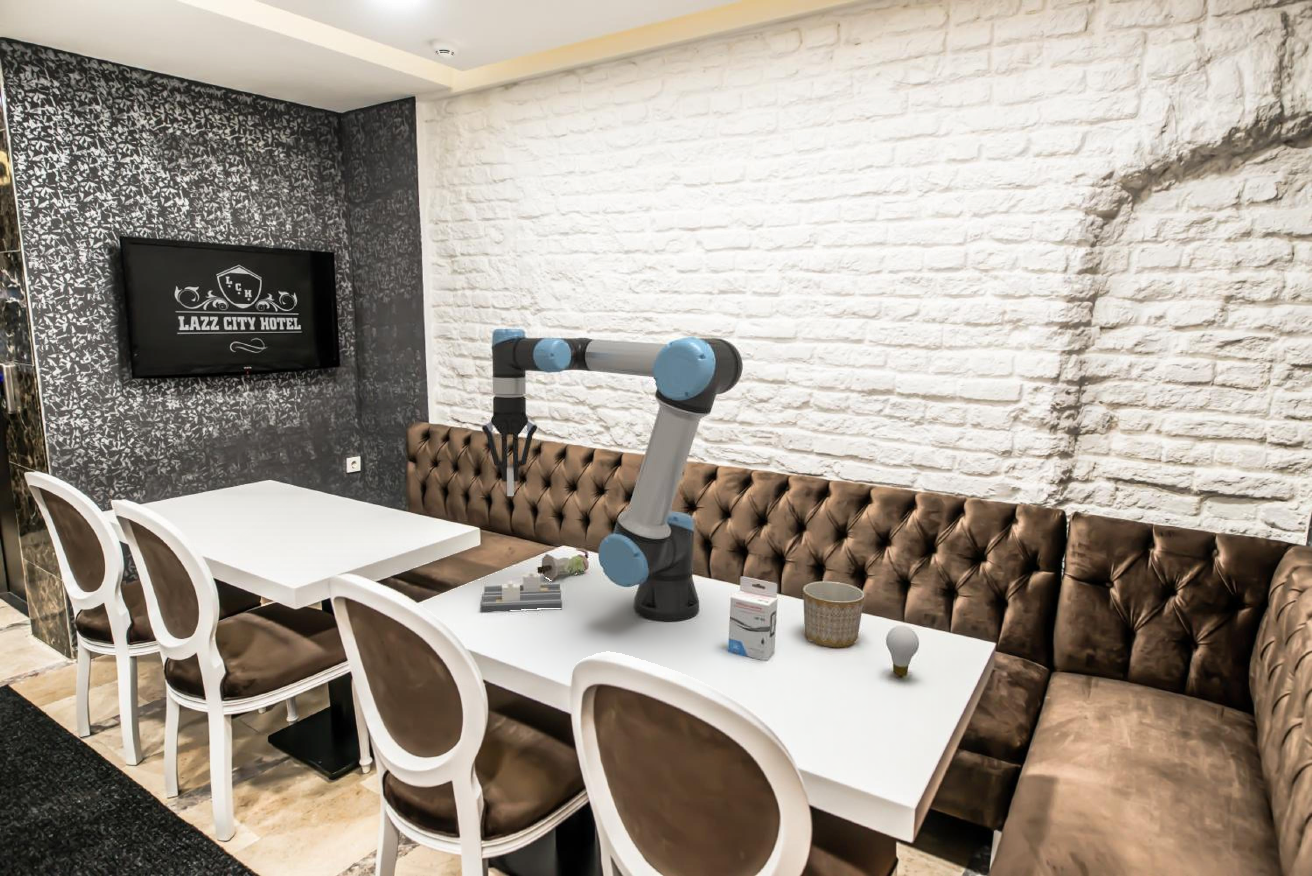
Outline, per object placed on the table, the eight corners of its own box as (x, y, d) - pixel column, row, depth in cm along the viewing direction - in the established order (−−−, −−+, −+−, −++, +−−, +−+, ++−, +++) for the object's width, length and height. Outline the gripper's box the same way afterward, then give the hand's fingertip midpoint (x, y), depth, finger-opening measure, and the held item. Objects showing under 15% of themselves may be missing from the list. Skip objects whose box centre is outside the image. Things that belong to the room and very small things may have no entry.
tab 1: (520, 598, 175) (519, 580, 174) (519, 601, 172) (519, 583, 172) (502, 598, 174) (502, 580, 173) (502, 602, 172) (501, 584, 171)
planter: (812, 622, 169) (814, 577, 167) (868, 635, 162) (871, 588, 161) (791, 641, 158) (794, 593, 156) (851, 656, 151) (854, 606, 150)
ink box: (726, 652, 152) (729, 582, 150) (736, 643, 156) (739, 575, 154) (766, 661, 148) (770, 590, 146) (775, 652, 152) (779, 582, 150)
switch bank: (559, 591, 185) (559, 583, 184) (561, 609, 173) (561, 600, 173) (484, 594, 182) (484, 585, 181) (481, 612, 170) (481, 603, 170)
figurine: (551, 581, 187) (600, 573, 197) (547, 552, 188) (595, 545, 198) (534, 585, 193) (582, 576, 203) (529, 556, 195) (578, 549, 204)
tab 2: (540, 587, 182) (540, 570, 182) (540, 590, 180) (540, 573, 179) (523, 587, 182) (523, 570, 181) (523, 591, 179) (523, 574, 179)
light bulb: (890, 667, 147) (894, 618, 145) (920, 676, 143) (924, 626, 142) (878, 677, 142) (882, 627, 141) (909, 687, 138) (913, 635, 137)
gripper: (537, 394, 180) (538, 491, 183) (481, 394, 178) (483, 492, 181) (537, 396, 172) (538, 497, 176) (479, 396, 170) (481, 498, 173)
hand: (510, 494), depth 178 cm, fingers closed
